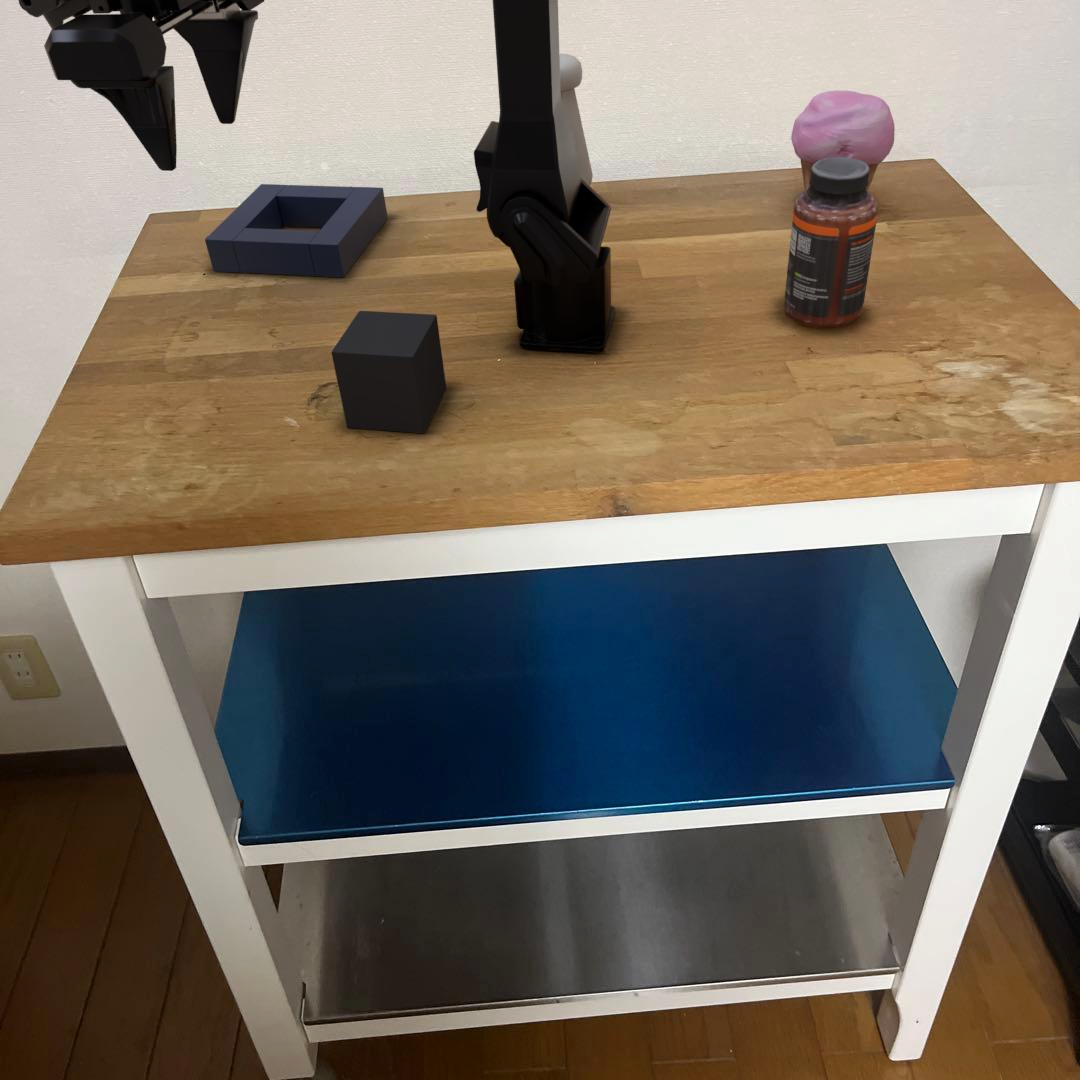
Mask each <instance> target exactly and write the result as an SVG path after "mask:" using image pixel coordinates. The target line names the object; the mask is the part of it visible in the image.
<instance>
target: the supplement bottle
mask: <svg viewBox="0 0 1080 1080" xmlns="http://www.w3.org/2000/svg"><path fill="white" fill-rule="evenodd" d="M869 172H870V169H869V166H868V165H867V164H866V163H864V162H862V161H860V160H857V159H853V158H845V157H834V158H826V159H823V160H820V161H817V162H816V163H815V164H814V165H812V168H811V177H810V182H809V184H810V187H809V188H808V189H807V190H806V191H805V190H804V191H802V192H801V193H800V194H799V195H798V197H797V198H796V200H795V202H794V205H793V211H792V221H791V229H790V230H791V231H790V239H789V241H790V242H789V250H788V259H787V260H788V261H787V268H786V269H787V271H786V280H785V289H784V302H783V304H784V305H783V307H784V310H785V313H786V314H787V316H789V317H790V318H791V319H792V320H794V321H795V322H797V323H800V324H803V325H805V326H811V327H815V328H835V327H842V326H845V325H847V324H849V323H852V322H854V321H855V320H857V319H858V318H859V317H860V315H861V314H862V312H863V308H864V303H865V298H866V291H867V286H868V285H867V284H868V278H869V271H870V266H871V265H870V264H871V260H872V252H873V246H874V240H875V232H876V227H877V219H878V210H879V207H878V201H877V200H876V198H875V196H874V195H873V194H872V193H871V192H869V190H868V191H866V188H867V186H868V184H869V182H868V178H869Z"/></svg>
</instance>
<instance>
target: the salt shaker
mask: <svg viewBox="0 0 1080 1080" xmlns="http://www.w3.org/2000/svg"><path fill="white" fill-rule="evenodd" d="M559 58H560V93H561V99H562V104H563V107H564V110H565V113H566V116H567V119H568V122H569V125H570V128H571V130H572V133H573V138H574V143H575V148H576V153H577V158H578V163H579V169H580V174H581V178H582V179H583V180H584V181H585V182H586V183H587V184H588V185H589V186H590V187H591V185H592V182H593V170H592V165H591V160H590V155H589V151H588V146H587V141H586V137H585V131H584V127H583V122H582V118H581V113H580V109H579V103H578V99H577V93H576V88H578V87H579V86H580V85H581V83H582V80H583V68H582V62H581V61H580V60H579V59H578V58H577V57H576V56H575V55H573V54H569V53H568V54H567V53H559Z"/></svg>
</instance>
